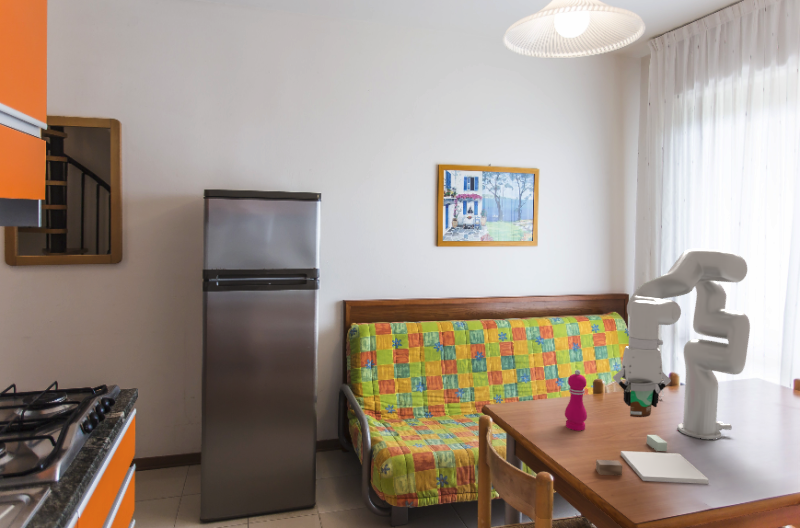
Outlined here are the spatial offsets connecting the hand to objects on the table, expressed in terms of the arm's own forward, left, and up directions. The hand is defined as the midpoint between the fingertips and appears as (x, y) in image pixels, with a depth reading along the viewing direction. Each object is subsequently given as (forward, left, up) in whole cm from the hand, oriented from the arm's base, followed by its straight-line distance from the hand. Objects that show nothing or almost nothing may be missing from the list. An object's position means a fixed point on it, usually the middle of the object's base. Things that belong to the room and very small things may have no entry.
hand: (640, 404), depth 145 cm
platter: (-5, +3, -17) cm, 18 cm away
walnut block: (+11, +7, -17) cm, 22 cm away
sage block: (-10, -12, -17) cm, 23 cm away
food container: (-1, 0, -3) cm, 3 cm away
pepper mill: (+11, -26, -17) cm, 33 cm away
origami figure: (-31, -66, -17) cm, 75 cm away
